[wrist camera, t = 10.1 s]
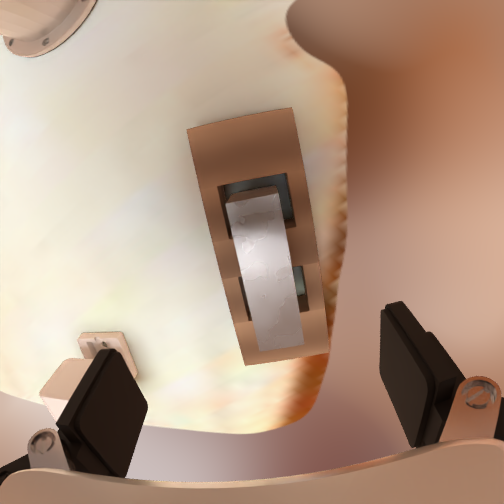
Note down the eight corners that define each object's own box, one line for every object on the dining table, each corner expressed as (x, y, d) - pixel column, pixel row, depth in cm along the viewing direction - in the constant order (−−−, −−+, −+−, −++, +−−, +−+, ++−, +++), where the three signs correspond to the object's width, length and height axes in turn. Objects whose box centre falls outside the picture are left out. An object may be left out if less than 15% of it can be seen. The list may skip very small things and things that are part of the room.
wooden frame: (195, 131, 24) (186, 129, 21) (288, 111, 23) (292, 107, 21) (246, 346, 30) (245, 365, 27) (324, 333, 29) (329, 352, 27)
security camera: (100, 381, 33) (65, 440, 24) (78, 332, 31) (32, 388, 21) (146, 383, 33) (117, 449, 23) (125, 331, 30) (84, 395, 21)
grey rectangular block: (236, 186, 25) (225, 203, 18) (274, 179, 25) (278, 193, 18) (261, 298, 28) (259, 351, 21) (294, 292, 28) (304, 344, 21)
